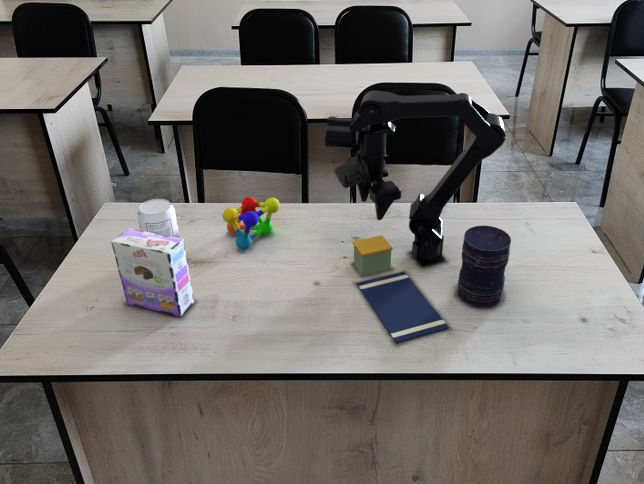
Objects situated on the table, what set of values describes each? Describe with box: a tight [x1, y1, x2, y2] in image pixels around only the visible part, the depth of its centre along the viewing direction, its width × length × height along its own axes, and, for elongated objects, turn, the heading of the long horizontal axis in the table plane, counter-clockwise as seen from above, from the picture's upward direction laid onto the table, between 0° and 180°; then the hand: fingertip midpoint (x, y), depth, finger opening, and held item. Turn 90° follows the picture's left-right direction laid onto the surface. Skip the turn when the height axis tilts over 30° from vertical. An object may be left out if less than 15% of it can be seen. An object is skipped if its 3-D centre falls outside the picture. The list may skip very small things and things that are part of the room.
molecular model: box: [222, 196, 281, 251], centre depth 148 cm, size 15×12×15 cm
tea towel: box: [356, 271, 450, 344], centre depth 130 cm, size 12×21×1 cm, turn 22°
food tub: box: [352, 234, 394, 277], centre depth 141 cm, size 8×6×6 cm
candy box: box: [110, 228, 195, 317], centre depth 127 cm, size 14×6×16 cm, turn 71°
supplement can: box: [137, 198, 181, 239], centre depth 141 cm, size 8×8×15 cm
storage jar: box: [457, 225, 512, 309], centre depth 130 cm, size 10×10×15 cm
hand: (371, 210), depth 141 cm, fingers open, 9 cm apart
